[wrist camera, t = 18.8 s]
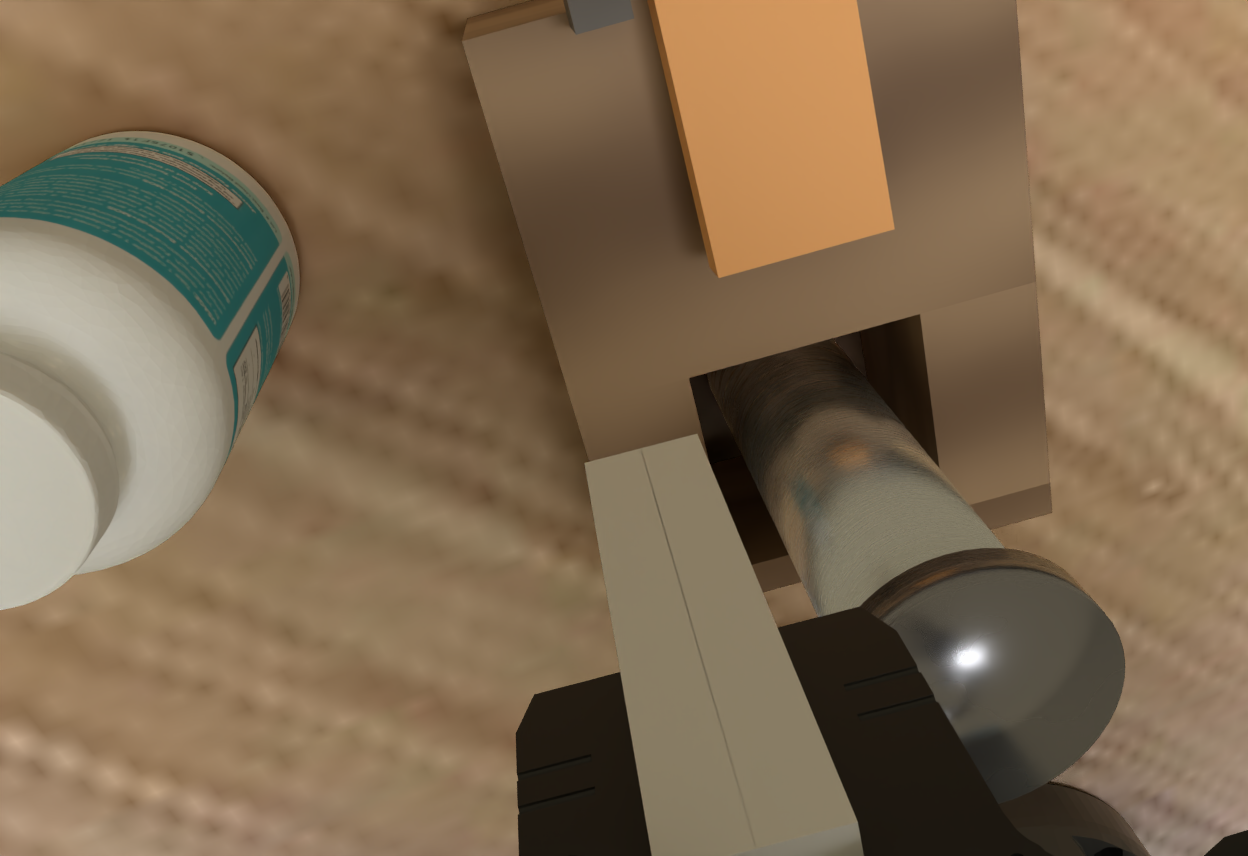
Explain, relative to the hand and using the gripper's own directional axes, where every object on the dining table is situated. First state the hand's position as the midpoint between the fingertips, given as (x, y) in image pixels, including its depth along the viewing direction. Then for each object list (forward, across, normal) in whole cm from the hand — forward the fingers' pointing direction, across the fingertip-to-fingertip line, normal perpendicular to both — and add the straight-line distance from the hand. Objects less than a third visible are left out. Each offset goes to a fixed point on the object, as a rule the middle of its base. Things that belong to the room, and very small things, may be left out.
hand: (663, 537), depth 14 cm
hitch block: (+18, -5, +2) cm, 19 cm away
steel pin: (+18, -5, +6) cm, 20 cm away
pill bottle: (+18, +11, -2) cm, 22 cm away
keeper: (+11, -5, -3) cm, 13 cm away
